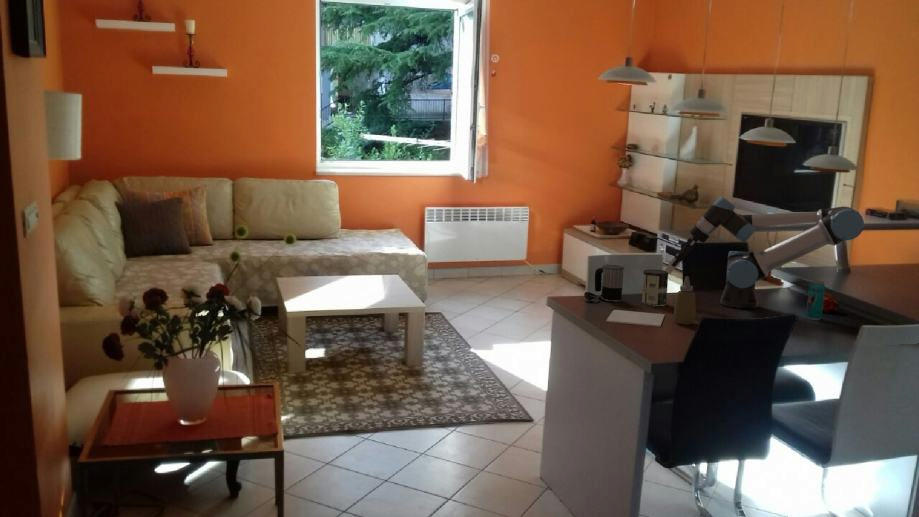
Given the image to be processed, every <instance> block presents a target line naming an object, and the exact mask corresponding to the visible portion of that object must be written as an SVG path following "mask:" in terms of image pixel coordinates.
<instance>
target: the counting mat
mask: <svg viewBox="0 0 919 517" xmlns="http://www.w3.org/2000/svg"><path fill="white" fill-rule="evenodd" d="M665 315H666V314H665V313H664V314H663V313H652V312H642V311H632V310H631V311H629V310H619V309H613V311H611V313H610V315H609V316H608V317H607V318H606V321H605V322H606V323H613V324H614V323H615V324H624V325H625V324H626V325H636V326H645V327H646V326H647V327H656V328H661V326H662V324H663V322H664V319H665V317H666V316H665Z"/></svg>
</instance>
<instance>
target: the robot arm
mask: <svg viewBox="0 0 919 517" xmlns="http://www.w3.org/2000/svg"><path fill="white" fill-rule="evenodd" d="M735 208H736V205H735V204H734V203H732V202H731V201H730V200H728V199H727V198H726V197H724V196H719V197H718V198H717V199H716V200H715V201H714V203H712V204H711V205H710V206H709V208H708V209H707V210H706V211H705V213H704V214H703V215H702V216H701V217H698V221H697V222H696V225H693V227H692V228H691V229H690V230H689V233H690V235H691V237H689V238H688V239H687V240H686V242H685V243H684V245H683V246H682V248H680V249H679V251H678V252H677V253H676V254H675V255H674V257H672V259H671V260H670V261H669V262H668V263H667V267H666V268H665V269H664V271H667V272H668V273H669V274H668V275H671V274H672V273H673V272H674V270H675V269H676V268H677V267H678V266H679V264H680V263H681V262H682V261H683V260H684V259H685V258H686V256H687V255H688V254H689V253H690V252H691V251H693V250H694V248H696V247H697V245H698V242H701V243H703V244H705V243H706V242H707V240H708V239H709V238H710V236H712V235H713V234H714V233H715V231H716V230H718V229H719V226H721V227H722V228H724V229H725V230H726V231H728V232H729V233H730V234H731V235H733V237H735V239H737V240H738V241H740V242H741V243H746V242H747V241H748V240H749V239H750V238H751V237H752V235H754V234H755V233H775V232H776V233H777V232H779V233H780V232H799V233H796V234H794V235H793V236H790V237H789V238H786V239H784V240H782V241H780V242H778V243H776V244H773V245H772V246H769V247H767V248H765V249H763V250H761V251H755V250H751V251H737V250H735V251H734V250H730V251H729V252H728V255H727V266H726V271H725V272H726V280H725V283H726V284H725V287H724V290H723V293H722V294H721V297H720V299H719V300H720V301H719V304H720V303H721V304H722V305H721V304H720V305H721V306H723V305H724V307H727V306H729V307H728V308H732V307H736V308H735V309H741V308H752V309H756V308H758V307H759V300H758V299H759V298H758V296H757V292H756V282H758V281H761V280H763V279H765V278H767V277H768V275H769V273H770V272H771V271H773V270H776V269H778V268H780V267H782V266H784V265H786V264H788V263H790V262H793V261H795V260H797V259H800V258H801V257H804V256H806V255H807V254H810V253H812V252H815V251H816V250H819V249H820V248H823V247H825V246H827V245H830V246H836V245H839V244H840V243H843V242H845V241H852V240H854V239H856V238H858V237H859V236H860V235H861V234H862V232H863V231H864V227H865V222H864V218H863V216H862V215H861V213H860V212H859V211H857V210H856V209H854V208H852V207H849V206H837V207H831V208H819V209H818V210H817V211H804V212H800V211H799V212H782V213H781V212H780V213H777V212H776V213H759V214H758V213H757V214H738V213H737V212H735V211H734V210H735Z"/></svg>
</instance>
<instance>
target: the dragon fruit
mask: <svg viewBox="0 0 919 517" xmlns="http://www.w3.org/2000/svg"><path fill="white" fill-rule="evenodd" d="M839 306H840V303H839V301H838V300H837V298H836V297H835V296H833V295H832V294H831V293H829V292H825V291H824V302H823V312H824V313H827V314H828V313H832V312H831V311H836V310H838V308H839Z"/></svg>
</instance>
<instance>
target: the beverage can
mask: <svg viewBox="0 0 919 517" xmlns="http://www.w3.org/2000/svg"><path fill="white" fill-rule="evenodd" d="M809 281H810V282H809V284H808V292H807V293H808V294H807V301H806V302H807V304H806V317H807V319H808V320H811V321H820V320H821V319H822V317H823V312H824V311H823V302H824V292H825V290H826V289H825V288H826V286H825V281H823V280H809Z"/></svg>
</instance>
